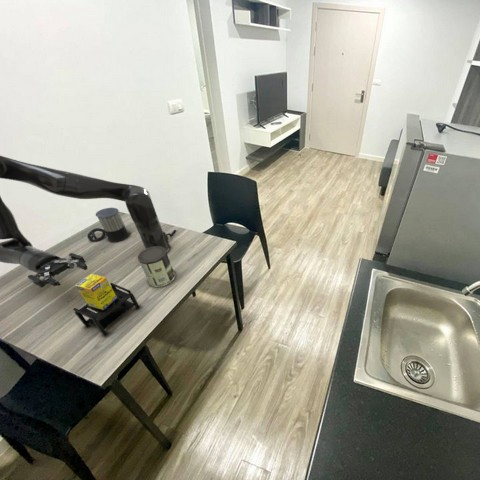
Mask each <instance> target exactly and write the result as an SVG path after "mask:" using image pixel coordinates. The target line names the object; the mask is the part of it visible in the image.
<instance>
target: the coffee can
mask: <svg viewBox="0 0 480 480" xmlns="http://www.w3.org/2000/svg"><path fill="white" fill-rule="evenodd" d="M136 258H137V260H138V262H139V264H140V266H141V268H142V270H143V272H144V274H145V277H146V278H147V281H148V284H149V285H150V286H151V287H154V288H161V287H165V286H167V285H169V284H171V283H172V282H173V281H174V280H175V278H176V273H175V271H174V269H173V266H172V262H171V260H170V258H169V255H168V252H167V251H166V249H165V248H164V247H161V246H154V247H149V248H147V249H145V248H144V249H143V250H141V251H140V252H139V253H138V255H137V257H136Z"/></svg>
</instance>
